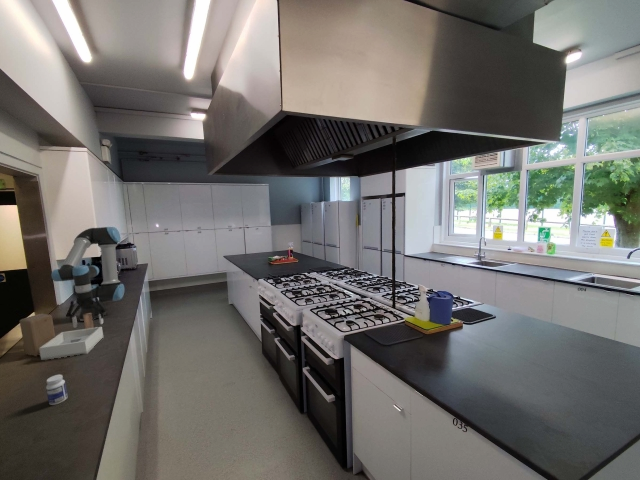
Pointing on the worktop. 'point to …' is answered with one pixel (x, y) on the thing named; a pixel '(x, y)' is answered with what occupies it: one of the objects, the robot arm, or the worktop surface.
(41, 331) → the wooden block
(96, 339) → the tub
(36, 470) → the worktop surface
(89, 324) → the peg
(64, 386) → the pill bottle
